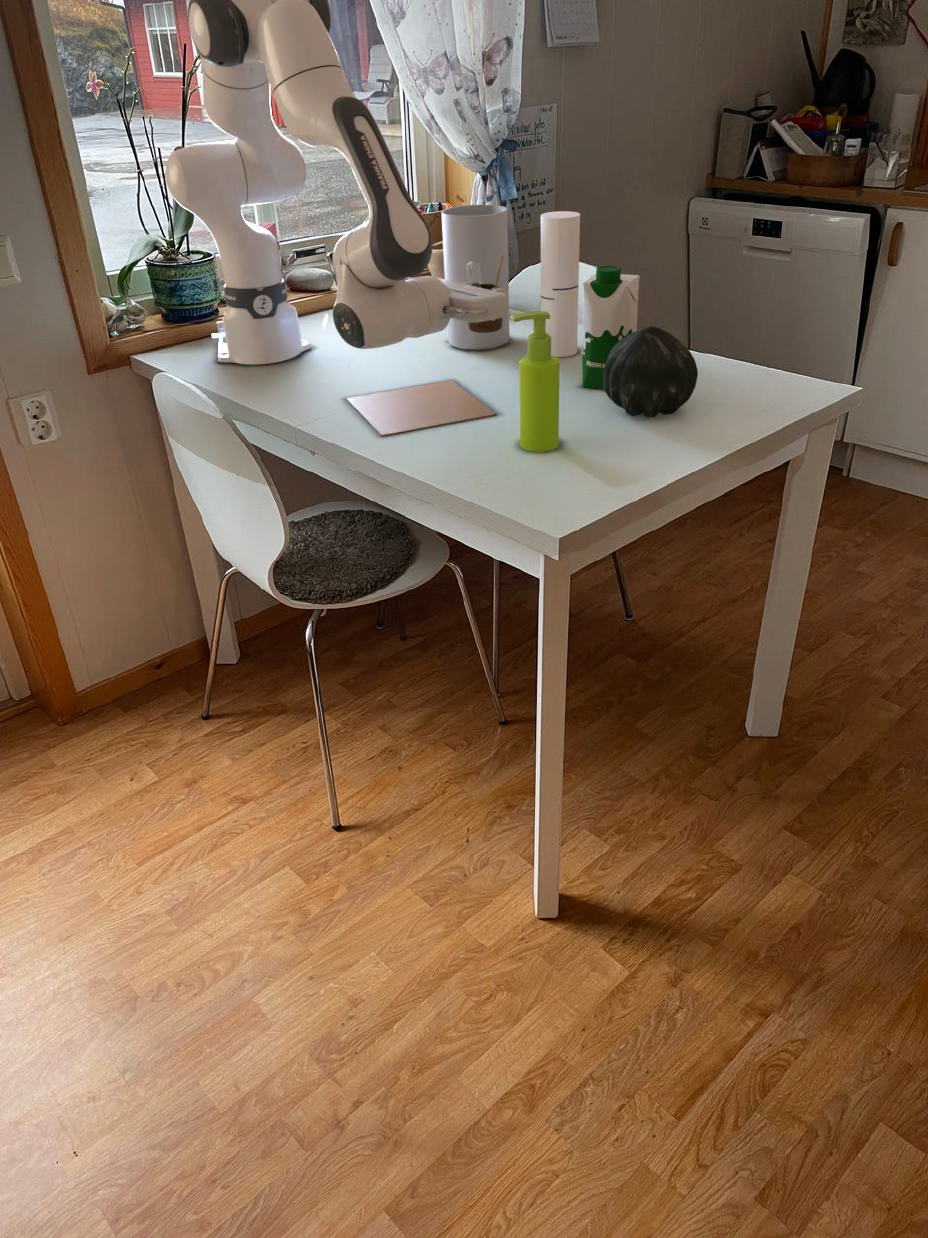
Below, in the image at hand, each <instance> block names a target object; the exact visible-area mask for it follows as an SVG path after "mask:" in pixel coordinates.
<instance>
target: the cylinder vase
mask: <svg viewBox="0 0 928 1238" xmlns="http://www.w3.org/2000/svg"><path fill="white" fill-rule="evenodd" d="M508 220H509V219H508V207H506V206H504V205H498V204H497V205H496V204H467V205H458V206H452V207H448V208H445V209H443V210H441V227H442V228H441V231H442V241H443V252H444V271H445V280H449V281H453V282H458V283H467V282H471V281H473V282H476V281H477V283H479V284H495V283H496V279H497V274H498V270H499V266H500V262H501V258H502V256H503V255H504V256H503V261H502V266H501V271H500V275H499V279H498V283H497V285H498V286H499V288H504V290H505V294H506V296H507V313H506V315H505V316H504V317H502V327H501V329H500V330H498V331H495V332H490V333H478V332H473V331H471V330H470V329H469V326H468V322H464V321H461V320H457V319H453V318H450V321H449V323H448V325H447V327H446V329H447V341H448V343H449V344H450V345H451V346H453V347H454V348H457V349H459V350H468V351H484V350H491V349H496V348H499V347H502V346H504V345H505V344H507V343H508V342H509V340H510V290H509V289H510V287H509V285H510V284H509V283H510V282H509V281H510V280H509V237H508V236H509V231H508V230H509V227H508V226H509V225H508ZM470 262H473V264H472V263H470ZM474 262H475V263H474ZM469 263H470V264H469ZM476 263H477V264H478V266H477V264H476ZM474 264H475V265H474ZM473 266H474V267H473ZM466 267H467V268H468V271H467V272H466V270H467V268H466ZM471 267H472V269H471ZM476 268H477V269H476ZM478 268H480V269H479V270H478ZM469 271H470V273H469ZM474 271H475V272H474ZM477 272H478V273H477ZM480 272H481V273H480ZM472 273H473V274H472ZM479 273H480V274H479ZM468 275H469V277H467V276H468ZM475 275H476V277H475ZM470 276H471V277H470ZM478 276H479V278H478ZM473 278H474V279H473Z"/></svg>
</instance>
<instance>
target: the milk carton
mask: <svg viewBox="0 0 928 1238" xmlns="http://www.w3.org/2000/svg"><path fill="white" fill-rule="evenodd" d="M621 272H622V268H621V267H619V266H617V265H602V266H598V267H597V268H596V269H595V274H594V275H591V276H590V277H589V278H587V279H586V280H585V281H583V282H582V304H583V305H582V337H581V338H582V340H581V342H582V343H581V371H582V375H581V376H582V388H587V389H588V388H589V389H596V390H597V389H599V390H605V389H604V384H603V373H604V367H605V364H606V361H607V358H608V355H609V353H610V351H611V350H612V349H613V347H614V346H615V345H616V344H617V343H618V342H619V341H620V340H622V339H623V338H625V337H626V336H628V335H629V334H631V333H633V332H635V331H637V330H638V329H637V328H638V327H637V326H638V305H639V303H638V302H639V288H640V277H641V276H640V275H639V274H626V273H621Z"/></svg>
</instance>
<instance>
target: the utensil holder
mask: <svg viewBox="0 0 928 1238" xmlns="http://www.w3.org/2000/svg"><path fill="white" fill-rule="evenodd" d="M503 256H504V255H503ZM503 256H502V258H501V262H500V266H499V270H498V274H497V279H496V283H495V284H477V285H473V286H475V287H479V288H484V289H488V290H491V288H496V287H499V286H498V285H497V283H498V279H499V275H500V271H501V266H502V261H503ZM470 263H472V264H473V262H470ZM470 263H469V264H470ZM474 263H475V262H474ZM476 264H477V263H476ZM474 265H475V264H474ZM477 266H478V264H477ZM473 267H474V266H473ZM466 268H467V267H466ZM471 269H472V267H471ZM476 269H477V268H476ZM479 269H480V268H478V270H479ZM467 271H468V268H467V270H466V272H467ZM474 272H475V271H474ZM469 273H470V271H469ZM477 273H478V272H477ZM480 273H481V272H480ZM480 273H479V274H480ZM472 274H473V273H472ZM467 277H469V275H468V276H467ZM470 277H471V276H470ZM475 277H476V275H475ZM478 278H479V276H478ZM473 279H474V278H473ZM469 283H471V282H469ZM472 283H473V282H472ZM474 283H475V282H474ZM476 283H477V281H476ZM471 286H472V284H471ZM468 326H469V329H470V330H471V331H473V332H478V333H490V332H495V331H498V330H500V329H501V327H502V318H498V319H494V320H489V321H484V322H477V323H469V322H468Z"/></svg>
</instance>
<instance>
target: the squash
mask: <svg viewBox="0 0 928 1238" xmlns="http://www.w3.org/2000/svg"><path fill="white" fill-rule="evenodd" d="M698 376H699V371H698V366H697V362H696V359H695V358H694V356H693V354H692V353H691V351H690V350H689V348H688V347H687V346H686V345H685V344H684V343H683V342H682V341H680V339H678V338H677V337H676V336H675V335H674V334H673V335H672V334H671V333H670V332H668V331H667V330H664V329H663V328H660V327H657V326H654V325H646V326H643V327H641V328H639V329H636V331H635V332H633V333H631V334H629V335H628V336H626V337H625V338H623V339H622V340H620V341H619V342H618V343H617V344H616V345H615V346H614V347H613V349H612V350H611V351H610V353H609V355H608V358H607V361H606V364H605V367H604V373H603V384H604V389H603V390H604V391H605V394H606V395H607V397H608V399H610V400H611V401H612V402H613V403H614V404H615V406H617V407H619V408H621V409H623V410H624V411H625V412H626V414H627V415H629V416H630V417H639V416H641V415H643V416H645V417H646V418H648V419H650V418H655V417H656V416H658V415H659V414H660V415H665V416H667V415H673V414H675V413H676V412H678V411H679V409H681V407H682V406H684V405H685V404H686V403H688V401H689V400H690V398H691V397H692V396H693V394H694V391H695V389H696V387H697V381H698Z"/></svg>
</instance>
